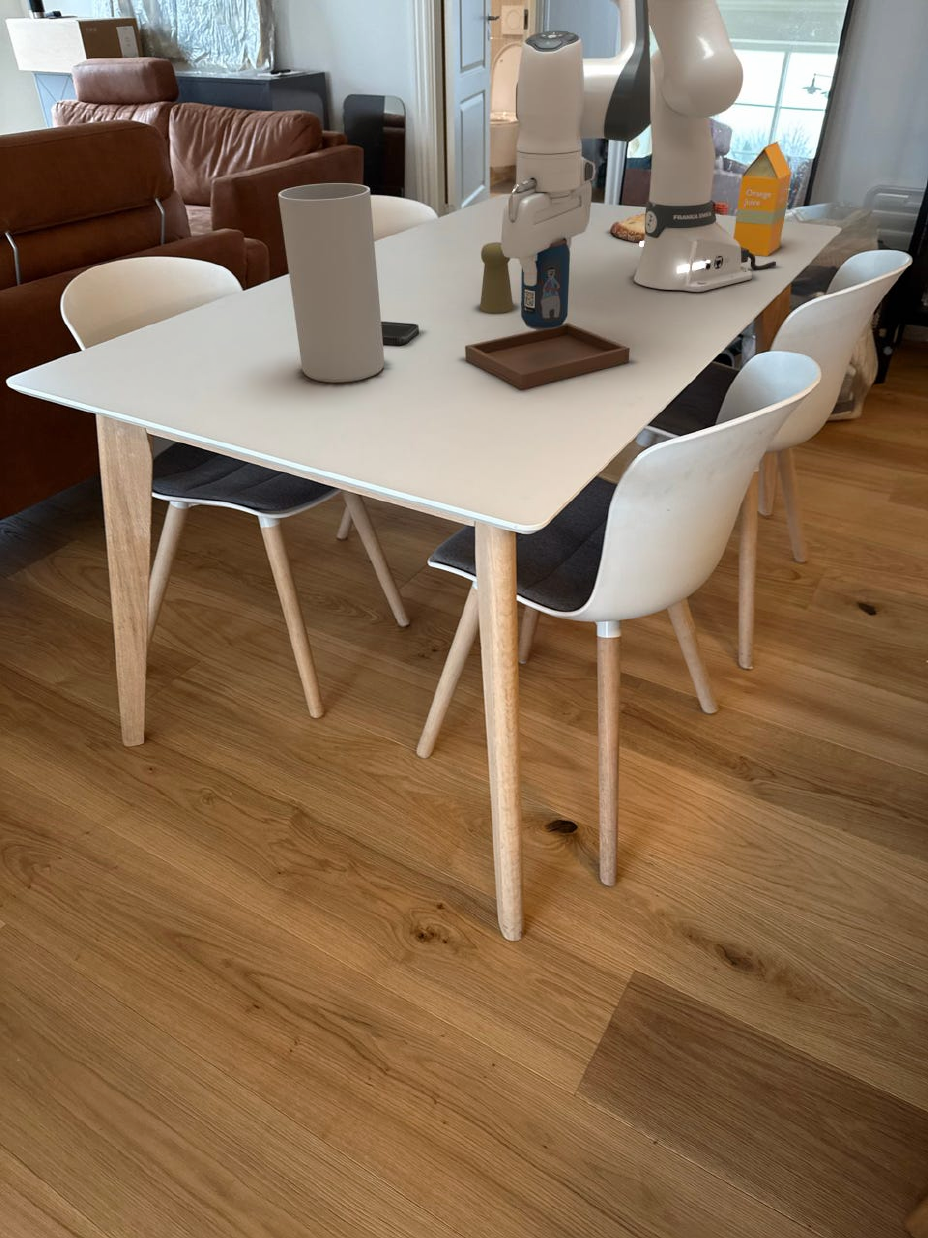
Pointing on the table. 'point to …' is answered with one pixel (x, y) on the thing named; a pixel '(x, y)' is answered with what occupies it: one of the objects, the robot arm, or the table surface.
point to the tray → (546, 355)
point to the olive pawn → (495, 280)
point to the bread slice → (630, 229)
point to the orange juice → (763, 202)
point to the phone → (398, 332)
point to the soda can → (548, 289)
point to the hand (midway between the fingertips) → (545, 277)
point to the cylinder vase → (333, 280)
